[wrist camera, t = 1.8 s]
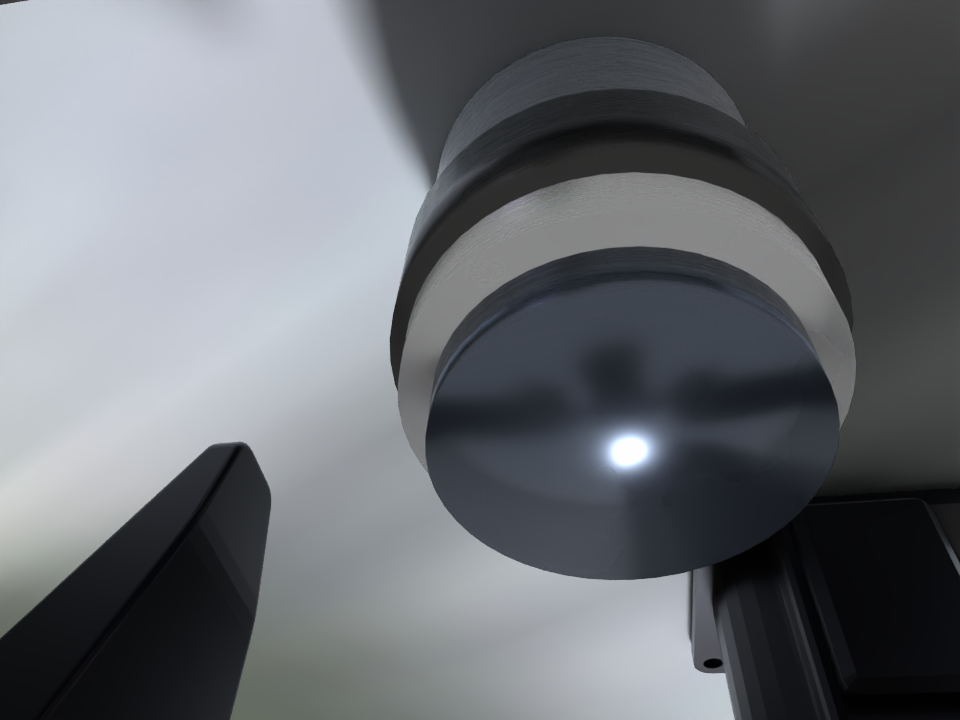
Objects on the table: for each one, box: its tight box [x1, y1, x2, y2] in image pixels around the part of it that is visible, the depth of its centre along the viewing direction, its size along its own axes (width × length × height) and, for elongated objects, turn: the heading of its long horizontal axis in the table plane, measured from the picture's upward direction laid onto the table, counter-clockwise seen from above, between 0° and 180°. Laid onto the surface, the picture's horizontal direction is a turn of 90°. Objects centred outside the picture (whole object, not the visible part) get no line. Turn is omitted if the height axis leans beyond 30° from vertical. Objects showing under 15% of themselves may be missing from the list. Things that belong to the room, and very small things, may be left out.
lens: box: [390, 36, 856, 580], centre depth 11 cm, size 6×6×6 cm
